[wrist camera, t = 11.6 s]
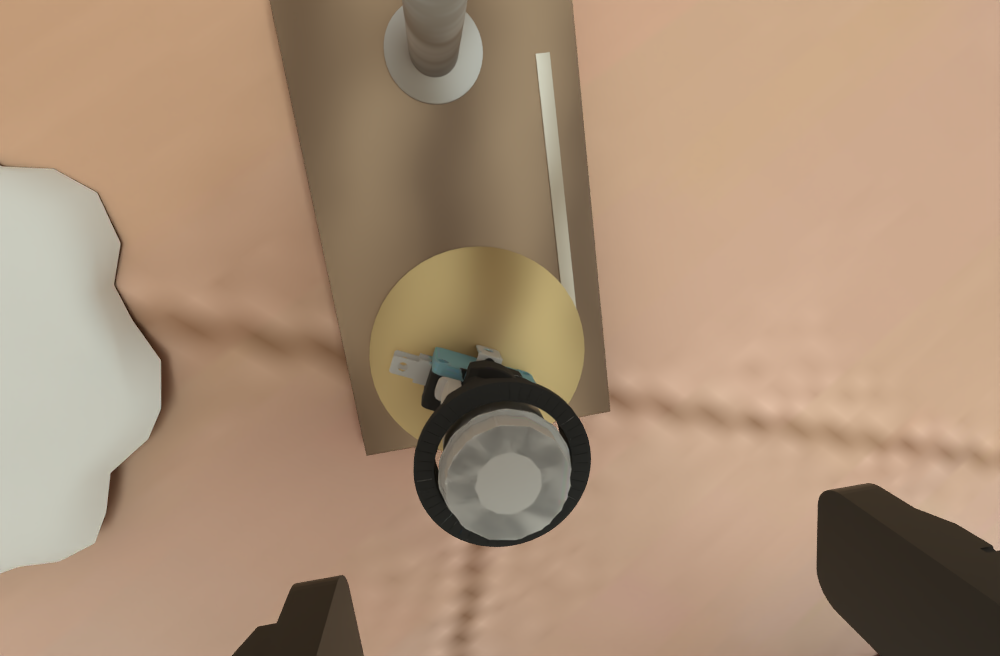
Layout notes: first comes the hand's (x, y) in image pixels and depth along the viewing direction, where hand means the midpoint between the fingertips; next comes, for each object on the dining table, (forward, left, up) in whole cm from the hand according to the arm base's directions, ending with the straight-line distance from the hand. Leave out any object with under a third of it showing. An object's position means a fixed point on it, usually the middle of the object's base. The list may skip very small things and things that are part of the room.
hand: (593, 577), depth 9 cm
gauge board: (+1, -6, -18) cm, 18 cm away
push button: (+1, +1, -16) cm, 16 cm away
